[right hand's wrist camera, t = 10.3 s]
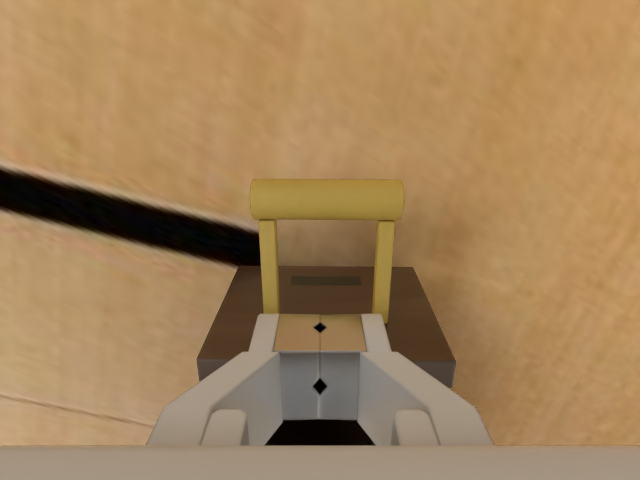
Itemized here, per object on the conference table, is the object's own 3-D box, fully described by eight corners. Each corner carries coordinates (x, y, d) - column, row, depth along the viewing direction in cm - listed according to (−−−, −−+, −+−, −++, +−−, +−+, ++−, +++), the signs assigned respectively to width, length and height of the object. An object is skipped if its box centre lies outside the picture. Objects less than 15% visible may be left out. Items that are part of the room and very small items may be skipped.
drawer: (230, 153, 20) (174, 199, 13) (423, 154, 20) (480, 201, 12) (255, 481, 28) (230, 624, 21) (393, 483, 28) (416, 627, 20)
